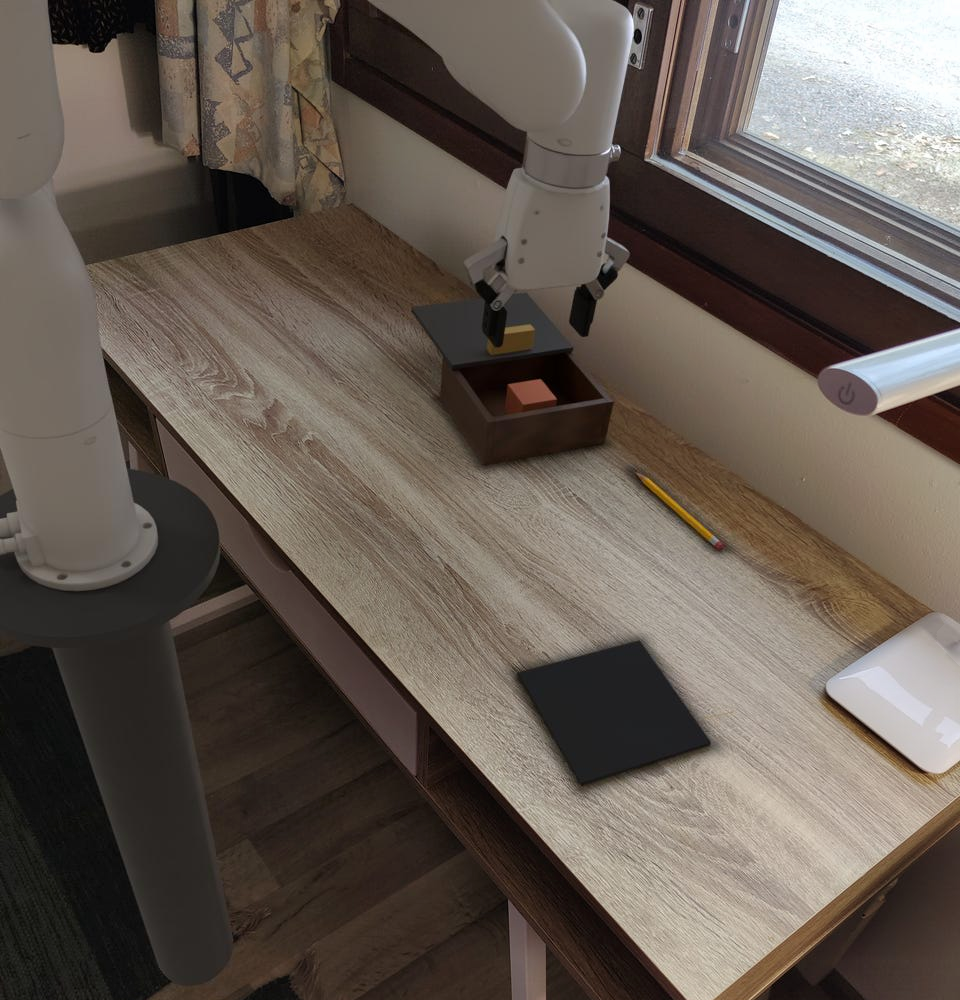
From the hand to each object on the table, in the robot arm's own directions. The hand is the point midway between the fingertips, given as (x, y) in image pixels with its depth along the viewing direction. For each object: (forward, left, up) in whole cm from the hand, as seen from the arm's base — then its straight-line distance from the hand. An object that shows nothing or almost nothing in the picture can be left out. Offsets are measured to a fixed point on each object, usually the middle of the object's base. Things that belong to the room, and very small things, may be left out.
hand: (536, 335), depth 100 cm
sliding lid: (+1, +11, -6) cm, 13 cm away
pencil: (+10, -17, -12) cm, 23 cm away
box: (+1, +2, -12) cm, 12 cm away
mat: (-9, -38, -12) cm, 41 cm away
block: (+1, 0, -11) cm, 11 cm away
